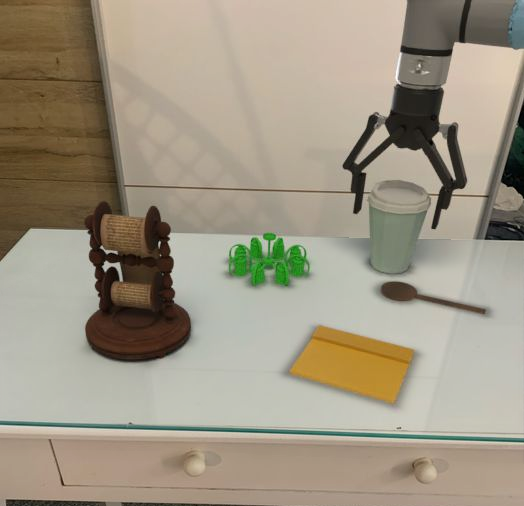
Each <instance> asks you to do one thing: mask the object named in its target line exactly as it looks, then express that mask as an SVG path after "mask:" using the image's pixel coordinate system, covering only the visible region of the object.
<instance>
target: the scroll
mask: <svg viewBox="0 0 524 506" xmlns="http://www.w3.org/2000/svg"><path fill="white" fill-rule="evenodd" d="M161 217H162V216H161V212H160V210H159V208H158V207H157V206H156V205H151V206H150V207H149V208H148V210H147V212H146V214H145V217H141V216H140V217H139V216H131V215H121V214H119V215H118V214H113V211H112V207H111V206H110V204H109V202H107V201H105V200H101V201H100V202H98V204H97V205H96V206H95V208H94V212H93V214H89V215H86V217H85V219H84V220H83V221H84V222H83V223H84V226H85V228H86V229H87V232H86V233H87V235H89V236H90V237H89V242H88V243H89V247H90V248H91V249H90V250H89V252H88V260H89V262H90V263H91V264H92V266H93V267H95V269H94V278H95V279H96V282H94V289H95V291H96V292H97V297H98V298H99V302H98V308H99V309H97V310H96V311H95V312H93V313H92V314H91V315H90V316H89V318H88V319H87V320H86V323H85V327H84V329H85V330H84V331H85V337H86V341H87V343H88V344H89V346H90V347H91V349H92V351H96V352H97V353H100V354H102V355H103V356H107V357H111V358H114V359H121V360H142V359H150V358H154V357H157V358H158V359H164V358H165V357H166V356H165V355H166V354H167V353H169V352H172V351H173V350H175V349H177V348H178V347H180V346H181V345H183V344H184V342H185V341H187V340H188V338H189V336H190V334H191V330H192V322H191V316H190V314H189V313H188V311H187V310H186V309H185V308H184V307H183V306H181V305H180V304H177V303H176V302H175V300H174V298H175V297H176V290H175V289H174V288H173V286H174V281H173V277H172V275H171V274H172V273H173V269H174V267H175V260H174V258H173V256H171V252H172V250H171V247H170V244H169V241H171V237H170V236H169V235H171V231H172V228H171V225H170V224H169V223H168V222H166V221H162V218H161ZM101 247H102V248H101ZM106 251H111V252H106ZM115 252H116V253H115ZM106 262H107V263H109V264H118V263H119V266H120V272H121V277H120V273H119V270H118V269H117V267H116V266H109V267H108V268H107V269H106V271H105V269H104V267H103V266H105V263H106ZM121 278H122V279H121ZM121 280H122V281H121Z"/></svg>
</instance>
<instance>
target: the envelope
mask: <svg viewBox="0 0 524 506" xmlns="http://www.w3.org/2000/svg"><path fill="white" fill-rule="evenodd" d="M414 353H415V349H414V348H410V347H405V346H402V345H398V344H394V343H390V342H386V341H382V340H377V339H375V338H371V337H367V336H363V335H359V334H355V333H353V332H348V331H344V330H341V329H336V328H333V327H329V326H325V325H321V324H320V325H318V327H317V328H316V329H315V331H314V332H313V333H312V337H311V339H310V340H309V342H308V344H307V345H306V347H305V348H304V349H303V351H302V352H301V354H300V355H299V357H298V358H297V359H296V361H295V362H294V364H293V366H292V367H291V368H290V370H289V374H290V375H294V376H298V377H301V378H305V379H308V380H311V381H315V382H318V383H322V384H325V385H328V386H331V387H334V388H339V389H342V390H345V391H349V392H352V393H356V394H358V395H362V396H366V397H370V398H373V399H376V400H380V401H383V402H387V403H389V404H393V405H394V404H395V401H396V399H397V397H398V394H399V391H400V389H401V387H402V384H403V382H404V379H405V377H406V374H407V371H408V369H409V366H410V364H411V362H412V359H413V357H414Z"/></svg>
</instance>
